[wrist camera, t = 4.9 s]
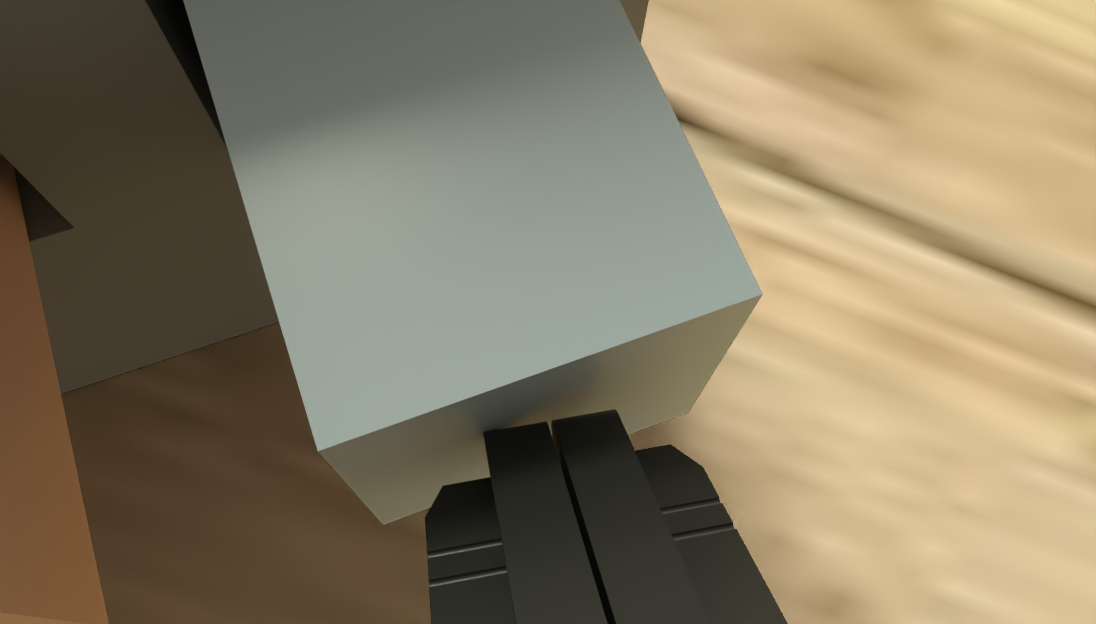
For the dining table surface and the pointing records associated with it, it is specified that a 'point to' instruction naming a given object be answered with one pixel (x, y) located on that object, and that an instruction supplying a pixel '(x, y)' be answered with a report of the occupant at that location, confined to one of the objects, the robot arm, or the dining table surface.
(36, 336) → the terracotta key
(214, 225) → the keypad console
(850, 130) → the dining table surface
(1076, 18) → the dining table surface
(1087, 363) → the dining table surface
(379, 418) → the grey rectangular block
